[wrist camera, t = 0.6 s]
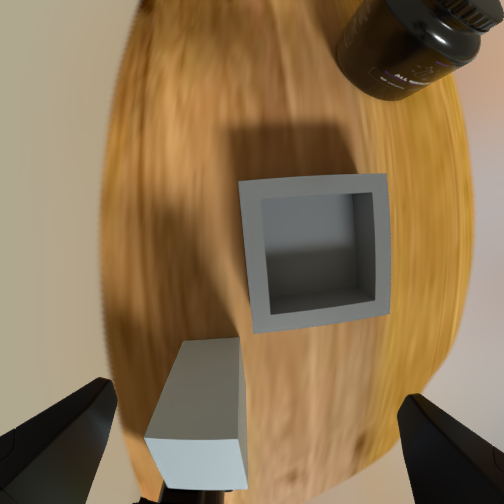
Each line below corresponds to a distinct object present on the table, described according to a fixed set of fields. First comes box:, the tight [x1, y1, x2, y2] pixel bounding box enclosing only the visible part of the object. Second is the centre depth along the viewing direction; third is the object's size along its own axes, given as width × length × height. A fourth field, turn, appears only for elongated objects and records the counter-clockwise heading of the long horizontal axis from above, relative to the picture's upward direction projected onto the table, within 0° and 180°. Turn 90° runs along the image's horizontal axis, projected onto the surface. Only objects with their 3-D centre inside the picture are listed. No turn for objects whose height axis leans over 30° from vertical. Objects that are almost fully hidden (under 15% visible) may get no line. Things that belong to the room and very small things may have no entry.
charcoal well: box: [238, 174, 391, 334], centre depth 17 cm, size 8×8×4 cm
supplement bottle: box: [336, 0, 504, 101], centre depth 11 cm, size 7×7×12 cm
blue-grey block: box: [144, 337, 248, 490], centre depth 15 cm, size 4×4×10 cm
